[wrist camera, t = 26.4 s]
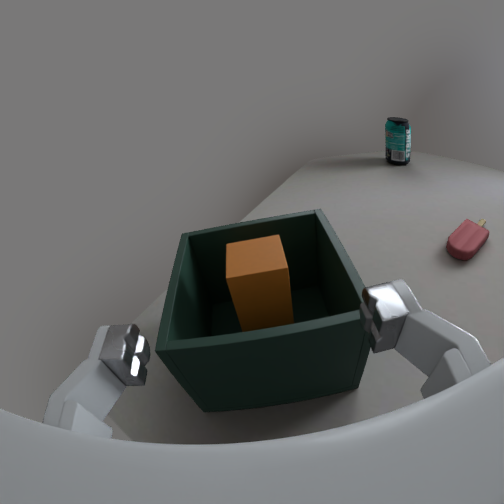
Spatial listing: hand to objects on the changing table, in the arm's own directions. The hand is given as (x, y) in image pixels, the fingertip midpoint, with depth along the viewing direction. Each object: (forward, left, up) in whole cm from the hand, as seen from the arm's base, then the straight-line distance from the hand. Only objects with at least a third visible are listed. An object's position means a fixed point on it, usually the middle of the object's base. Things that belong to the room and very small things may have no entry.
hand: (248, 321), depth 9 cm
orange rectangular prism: (0, +11, -16) cm, 20 cm away
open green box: (0, +11, -17) cm, 21 cm away
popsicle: (+35, +21, -17) cm, 45 cm away
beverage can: (+41, +58, -17) cm, 73 cm away
